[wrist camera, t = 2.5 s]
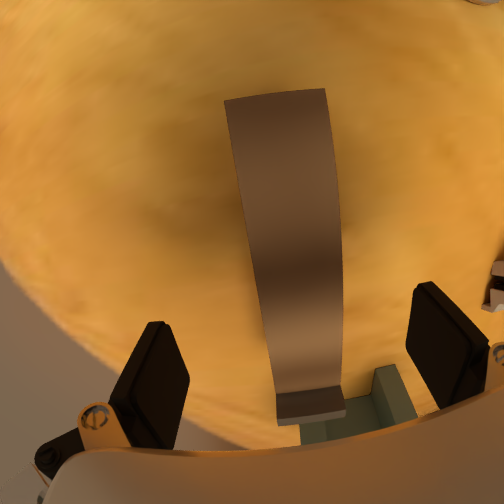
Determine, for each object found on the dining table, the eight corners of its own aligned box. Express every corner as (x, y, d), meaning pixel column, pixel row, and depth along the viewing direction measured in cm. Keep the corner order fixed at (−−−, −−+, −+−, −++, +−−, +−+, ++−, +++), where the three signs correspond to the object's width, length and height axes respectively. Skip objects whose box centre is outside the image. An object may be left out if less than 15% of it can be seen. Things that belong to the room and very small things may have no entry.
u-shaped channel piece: (295, 382, 24) (306, 519, 12) (394, 364, 23) (442, 483, 11) (298, 417, 26) (306, 531, 14) (385, 401, 25) (417, 505, 13)
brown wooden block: (236, 112, 16) (216, 93, 8) (303, 103, 15) (336, 79, 8) (274, 342, 22) (278, 426, 15) (325, 335, 22) (345, 416, 14)
